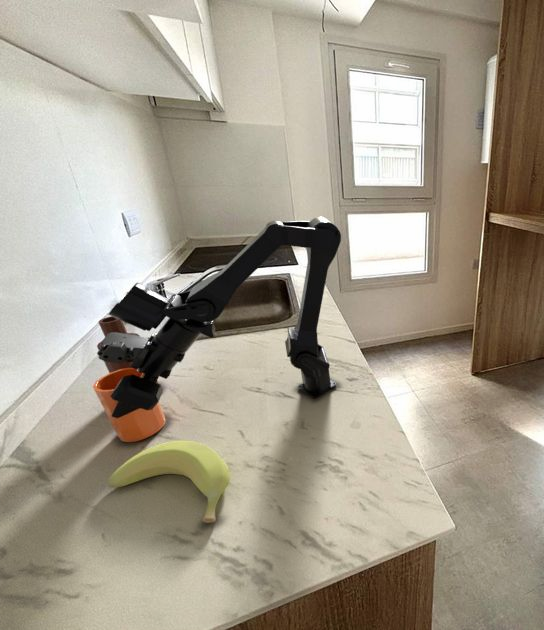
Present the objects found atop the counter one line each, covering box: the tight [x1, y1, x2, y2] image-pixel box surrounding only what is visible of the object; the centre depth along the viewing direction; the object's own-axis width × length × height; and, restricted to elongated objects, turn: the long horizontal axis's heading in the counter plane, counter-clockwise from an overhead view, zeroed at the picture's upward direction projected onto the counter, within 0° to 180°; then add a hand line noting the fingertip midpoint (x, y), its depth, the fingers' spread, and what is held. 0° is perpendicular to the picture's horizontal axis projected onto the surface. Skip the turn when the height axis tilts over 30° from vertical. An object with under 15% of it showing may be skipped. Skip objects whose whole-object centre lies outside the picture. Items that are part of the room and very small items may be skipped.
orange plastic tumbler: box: [92, 367, 167, 443], centre depth 63 cm, size 7×7×12 cm
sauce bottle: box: [96, 315, 160, 384], centre depth 71 cm, size 7×7×19 cm
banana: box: [107, 440, 231, 524], centre depth 53 cm, size 14×6×20 cm
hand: (121, 403), depth 62 cm, fingers closed on orange plastic tumbler, 7 cm apart
